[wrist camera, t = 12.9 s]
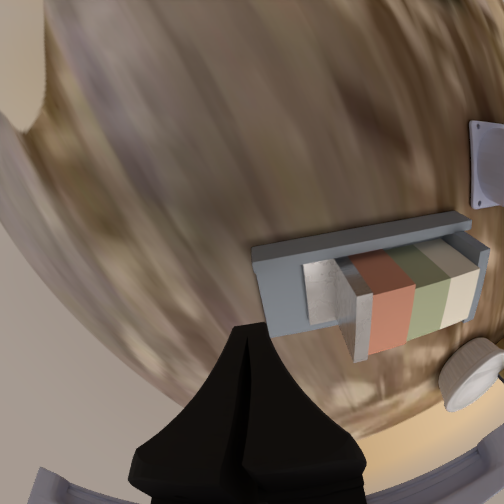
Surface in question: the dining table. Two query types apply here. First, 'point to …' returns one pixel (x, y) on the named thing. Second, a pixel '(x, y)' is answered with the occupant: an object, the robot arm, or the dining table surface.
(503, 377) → the picture frame
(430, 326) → the olive block
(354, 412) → the dining table surface
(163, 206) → the dining table surface
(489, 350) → the ramekin
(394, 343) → the rust book
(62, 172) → the dining table surface
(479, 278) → the shelf
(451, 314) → the cream book
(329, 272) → the bookend
